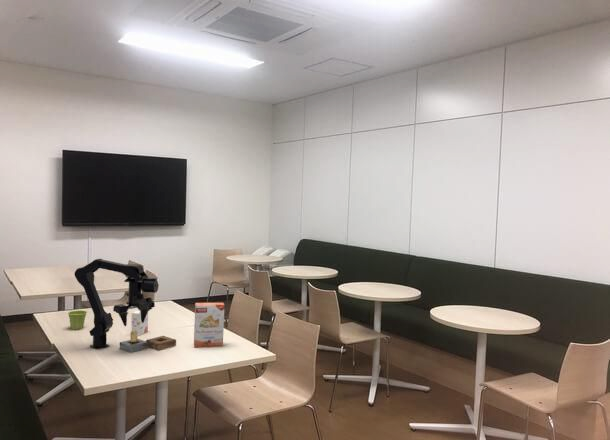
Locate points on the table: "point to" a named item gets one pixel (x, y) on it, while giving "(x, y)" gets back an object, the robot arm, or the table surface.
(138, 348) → the socket block
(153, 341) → the brown square frame
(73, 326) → the plant pot
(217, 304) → the cracker box
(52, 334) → the table surface
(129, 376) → the table surface
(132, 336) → the brass peg
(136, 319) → the ink cartridge box
